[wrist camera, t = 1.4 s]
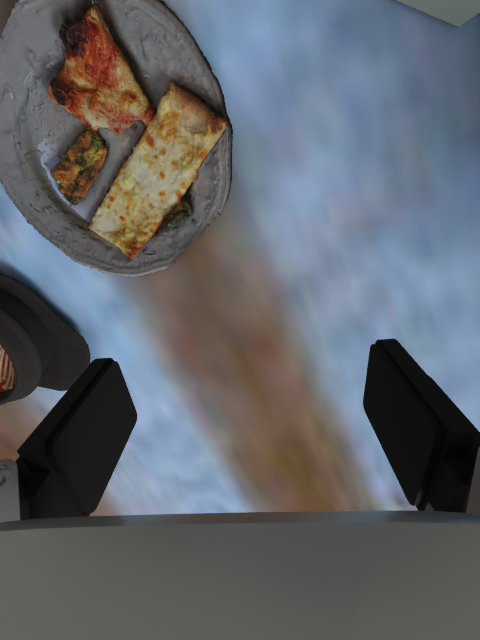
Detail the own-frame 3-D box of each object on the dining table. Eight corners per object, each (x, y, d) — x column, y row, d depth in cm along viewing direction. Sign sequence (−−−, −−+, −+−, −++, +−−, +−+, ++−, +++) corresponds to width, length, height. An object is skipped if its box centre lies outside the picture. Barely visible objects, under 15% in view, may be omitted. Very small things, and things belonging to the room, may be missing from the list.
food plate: (84, -104, 21) (55, -148, 18) (280, 152, 29) (282, 150, 26) (-33, 157, 31) (-65, 156, 28) (137, 300, 38) (127, 312, 35)
